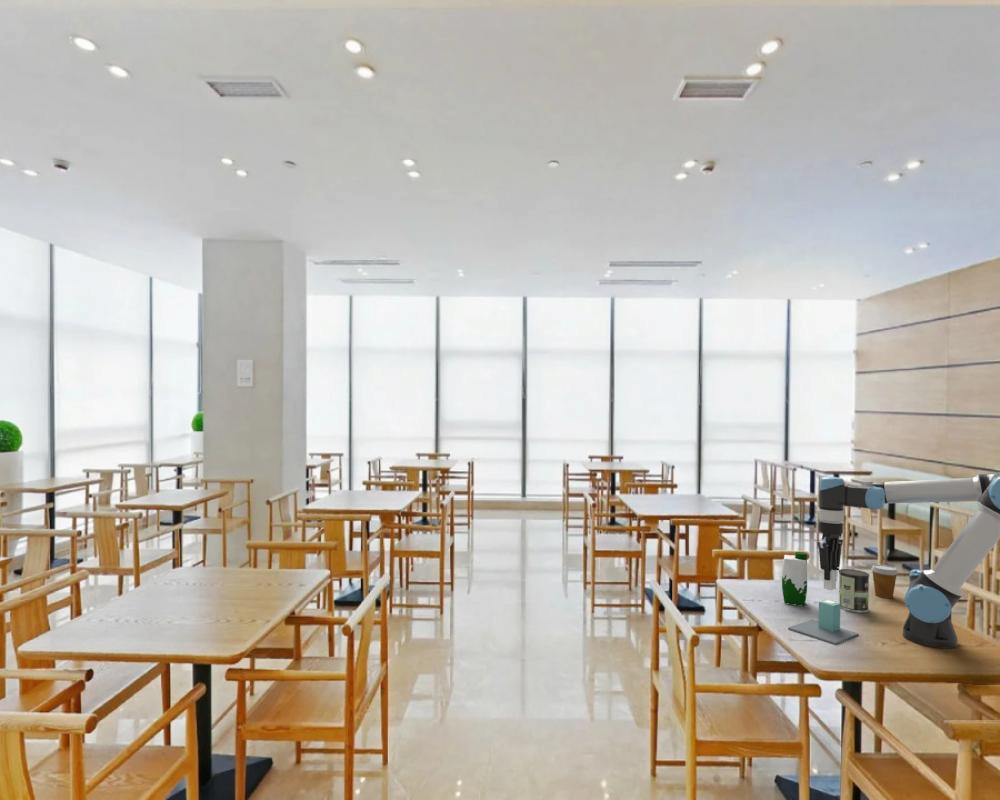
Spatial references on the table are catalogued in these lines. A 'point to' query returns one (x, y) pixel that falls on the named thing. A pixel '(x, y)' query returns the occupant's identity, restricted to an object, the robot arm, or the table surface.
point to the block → (829, 615)
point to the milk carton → (794, 578)
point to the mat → (822, 632)
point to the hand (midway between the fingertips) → (829, 588)
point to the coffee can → (853, 590)
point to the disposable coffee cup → (884, 580)
